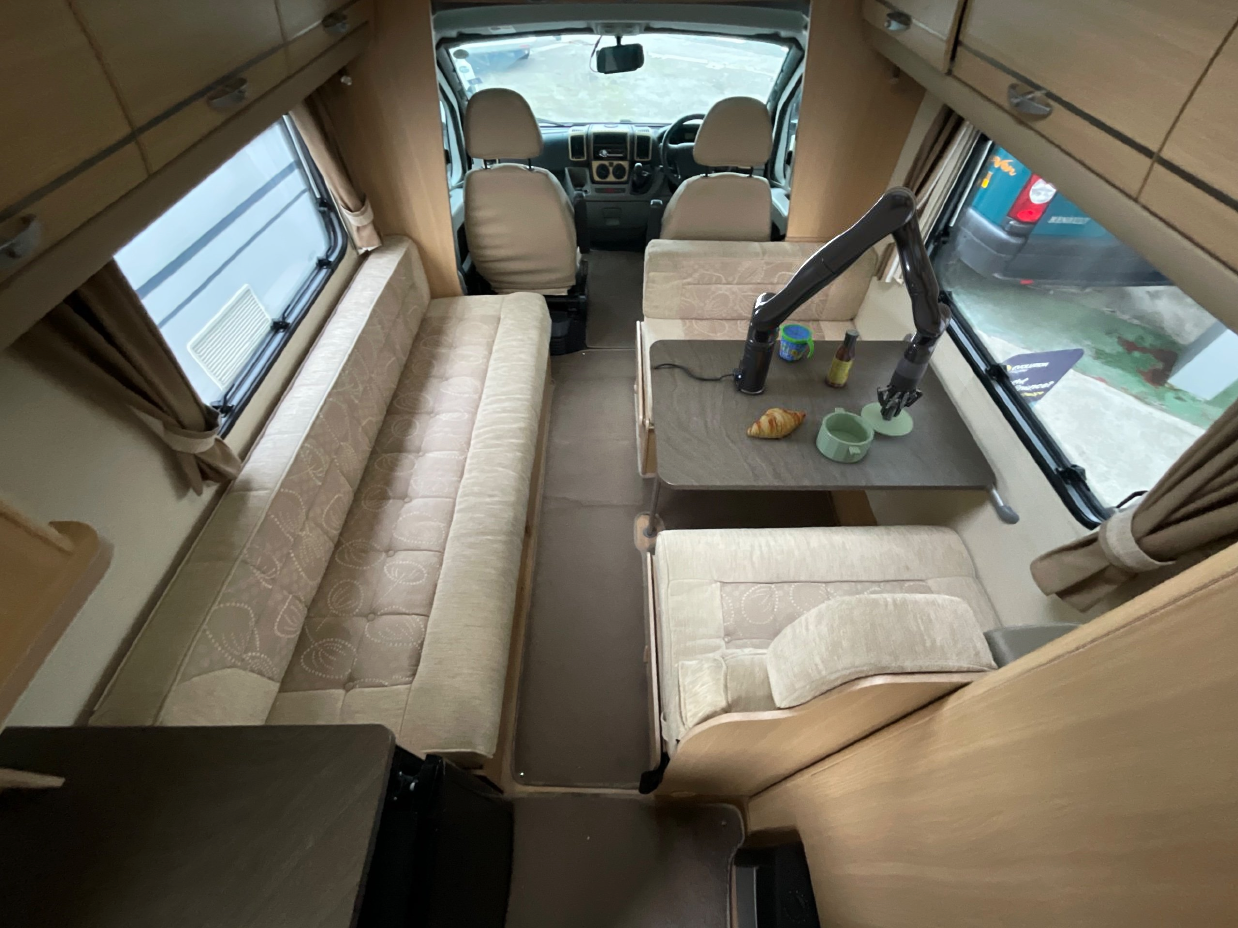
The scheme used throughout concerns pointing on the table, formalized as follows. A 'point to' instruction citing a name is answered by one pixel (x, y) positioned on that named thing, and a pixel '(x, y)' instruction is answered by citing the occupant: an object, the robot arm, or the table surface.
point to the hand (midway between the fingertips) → (888, 415)
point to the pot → (844, 436)
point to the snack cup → (795, 341)
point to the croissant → (776, 423)
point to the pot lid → (887, 420)
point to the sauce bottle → (843, 359)
